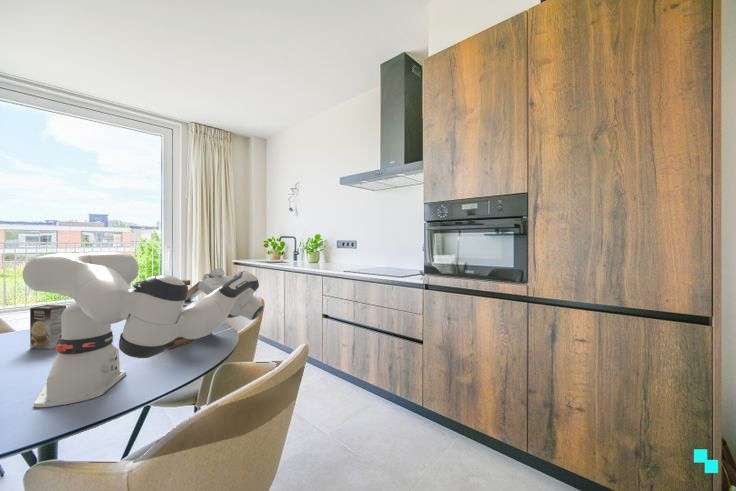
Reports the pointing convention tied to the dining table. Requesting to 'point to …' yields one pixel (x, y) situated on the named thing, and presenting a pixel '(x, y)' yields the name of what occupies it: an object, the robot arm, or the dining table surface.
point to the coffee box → (46, 326)
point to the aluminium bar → (195, 290)
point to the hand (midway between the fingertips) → (210, 274)
